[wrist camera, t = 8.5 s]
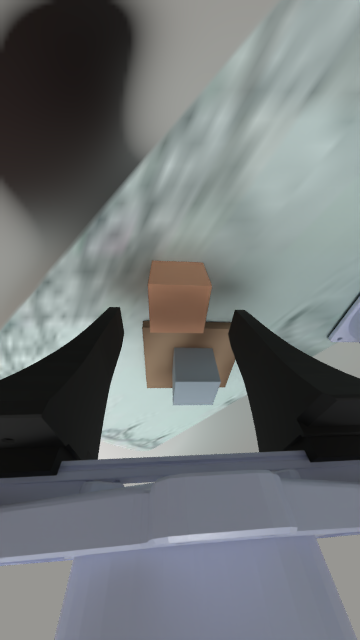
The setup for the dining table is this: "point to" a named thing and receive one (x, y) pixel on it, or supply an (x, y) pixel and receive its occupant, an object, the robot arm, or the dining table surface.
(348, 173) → the dining table surface
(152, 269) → the terracotta cube
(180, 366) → the slate cube
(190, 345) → the walnut base plate
